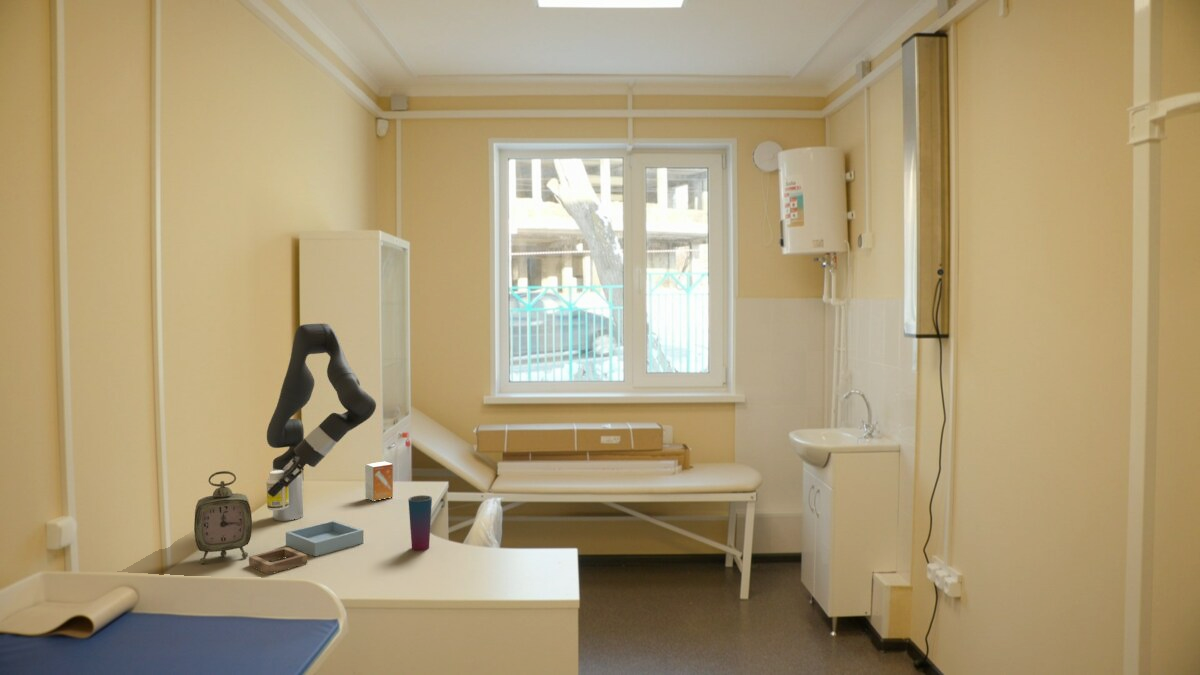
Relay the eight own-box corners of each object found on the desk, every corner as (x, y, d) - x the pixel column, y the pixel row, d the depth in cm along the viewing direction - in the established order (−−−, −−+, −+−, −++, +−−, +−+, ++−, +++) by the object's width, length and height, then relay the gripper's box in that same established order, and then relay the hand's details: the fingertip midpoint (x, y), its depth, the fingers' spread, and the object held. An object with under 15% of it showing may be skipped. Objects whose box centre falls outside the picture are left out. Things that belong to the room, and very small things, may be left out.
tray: (285, 545, 229) (285, 532, 229) (333, 532, 242) (333, 520, 242) (315, 556, 219) (315, 543, 219) (363, 543, 232) (363, 530, 232)
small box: (373, 502, 278) (373, 466, 278) (365, 499, 283) (364, 464, 282) (393, 498, 284) (393, 463, 283) (385, 495, 288) (384, 460, 288)
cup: (436, 546, 229) (436, 496, 228) (422, 553, 223) (422, 502, 222) (418, 543, 232) (418, 494, 231) (403, 549, 226) (403, 499, 225)
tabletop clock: (195, 567, 211) (193, 477, 209) (195, 557, 219) (193, 470, 217) (252, 559, 217) (251, 471, 216) (250, 549, 225) (249, 465, 224)
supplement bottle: (282, 504, 216) (282, 468, 216) (292, 507, 213) (292, 471, 212) (263, 508, 212) (262, 471, 211) (273, 512, 208) (272, 475, 208)
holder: (249, 565, 212) (248, 556, 212) (286, 555, 221) (286, 546, 220) (269, 574, 205) (269, 565, 205) (307, 563, 214) (307, 554, 214)
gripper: (305, 432, 220) (261, 477, 217) (306, 442, 207) (258, 489, 203) (325, 449, 223) (281, 494, 219) (327, 460, 209) (280, 507, 206)
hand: (270, 491), depth 211 cm, fingers closed on supplement bottle, 5 cm apart
